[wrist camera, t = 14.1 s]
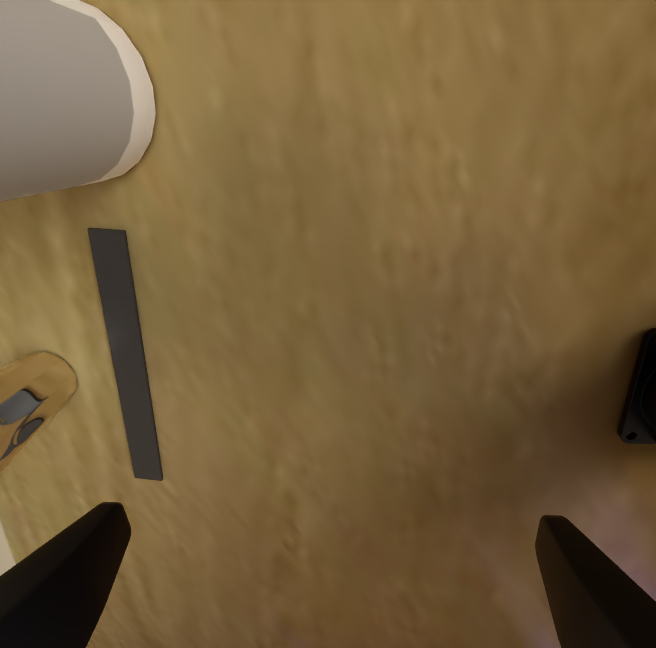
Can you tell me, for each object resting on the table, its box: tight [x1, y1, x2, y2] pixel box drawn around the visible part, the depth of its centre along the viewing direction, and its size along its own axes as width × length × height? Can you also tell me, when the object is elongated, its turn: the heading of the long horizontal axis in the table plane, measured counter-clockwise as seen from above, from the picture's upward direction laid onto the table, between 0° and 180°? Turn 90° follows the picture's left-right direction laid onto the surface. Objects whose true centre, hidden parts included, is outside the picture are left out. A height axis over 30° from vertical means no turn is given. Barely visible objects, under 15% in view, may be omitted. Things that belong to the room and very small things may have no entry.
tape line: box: [88, 228, 163, 481], centre depth 24 cm, size 16×2×1 cm, turn 177°
